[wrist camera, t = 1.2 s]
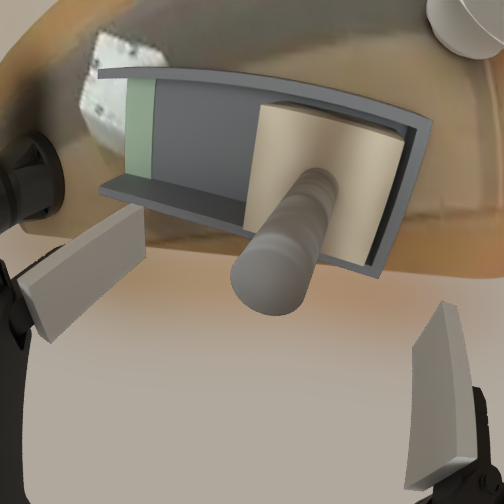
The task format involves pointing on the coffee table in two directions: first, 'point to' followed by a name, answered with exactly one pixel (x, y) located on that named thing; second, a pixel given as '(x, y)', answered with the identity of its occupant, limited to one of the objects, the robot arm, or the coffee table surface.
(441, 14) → the water bottle
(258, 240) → the beige block with post
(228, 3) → the coffee table surface
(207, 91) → the bay
